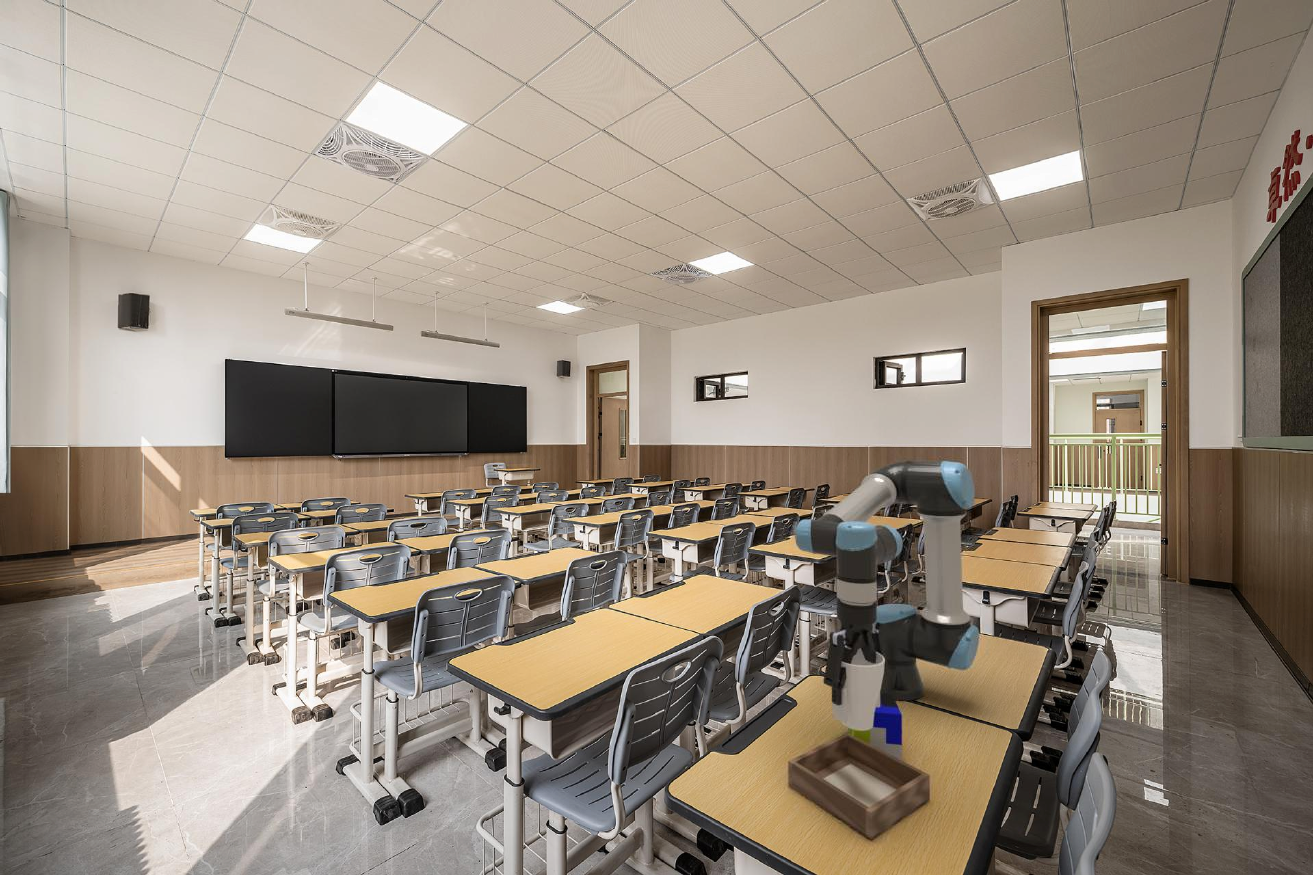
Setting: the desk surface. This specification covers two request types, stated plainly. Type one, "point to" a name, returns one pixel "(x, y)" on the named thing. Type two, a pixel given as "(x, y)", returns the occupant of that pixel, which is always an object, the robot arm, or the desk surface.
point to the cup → (862, 690)
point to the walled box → (859, 784)
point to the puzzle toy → (884, 728)
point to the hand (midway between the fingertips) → (856, 711)
